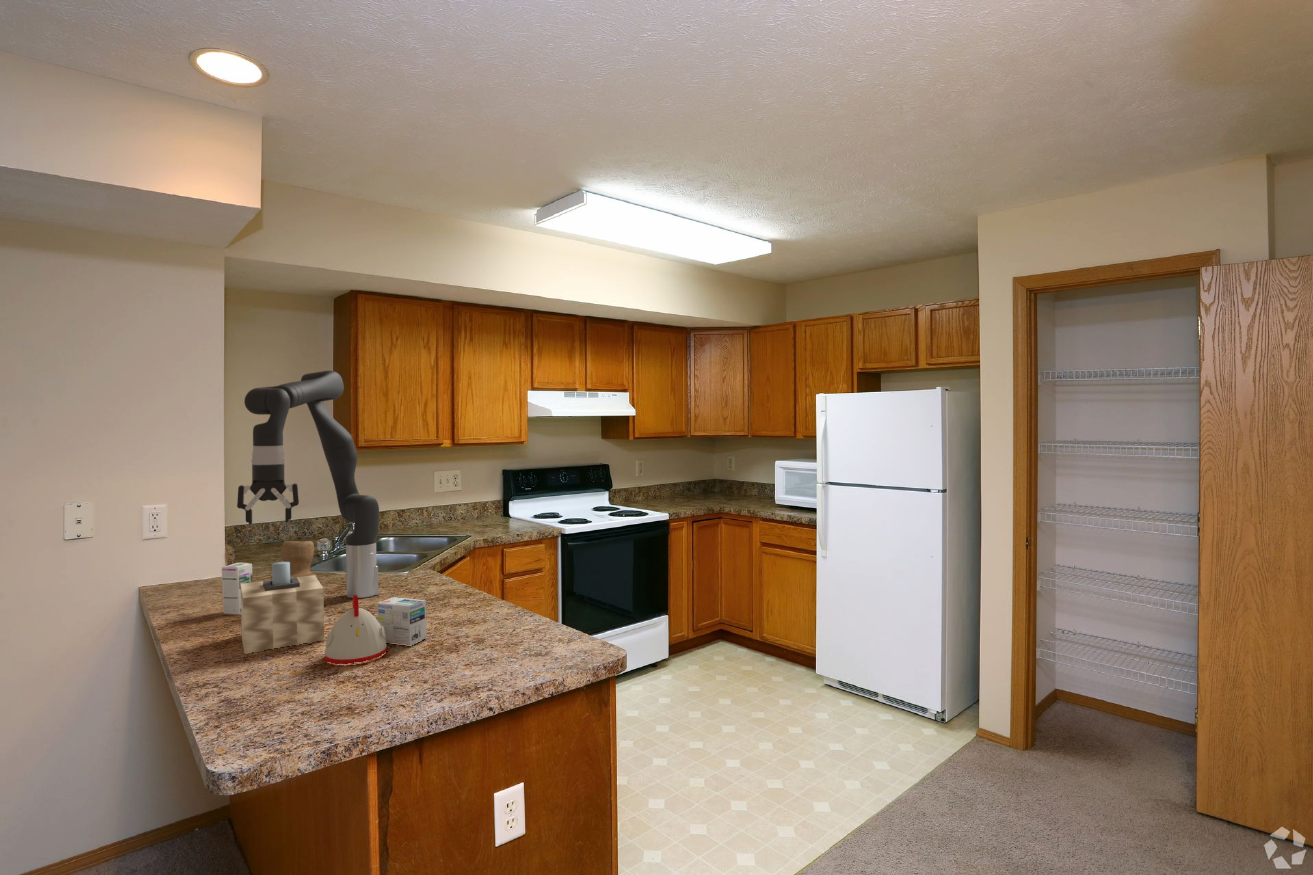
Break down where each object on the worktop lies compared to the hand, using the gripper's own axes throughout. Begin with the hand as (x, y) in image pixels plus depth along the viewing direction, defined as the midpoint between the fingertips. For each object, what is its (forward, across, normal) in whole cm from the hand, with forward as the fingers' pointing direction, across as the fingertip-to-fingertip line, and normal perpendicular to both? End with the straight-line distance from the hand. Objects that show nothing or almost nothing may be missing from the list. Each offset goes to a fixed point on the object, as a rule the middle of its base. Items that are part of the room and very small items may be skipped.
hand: (268, 523), depth 182 cm
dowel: (+22, -3, +3) cm, 23 cm away
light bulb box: (+31, -31, +21) cm, 49 cm away
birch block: (+30, -3, +3) cm, 31 cm away
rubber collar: (+16, -3, +3) cm, 17 cm away
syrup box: (+31, +10, -32) cm, 45 cm away
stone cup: (+30, -4, -67) cm, 74 cm away
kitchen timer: (+31, -20, +27) cm, 46 cm away
